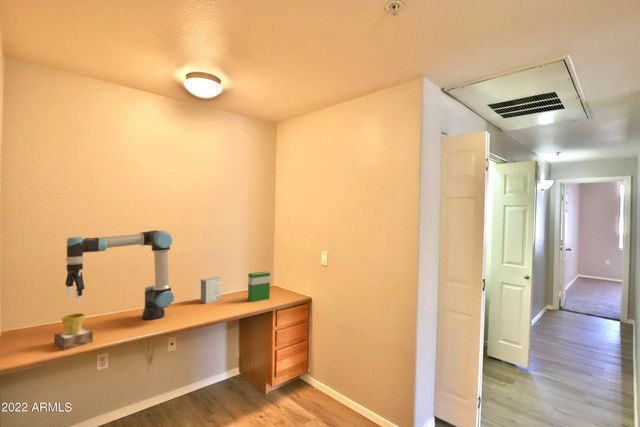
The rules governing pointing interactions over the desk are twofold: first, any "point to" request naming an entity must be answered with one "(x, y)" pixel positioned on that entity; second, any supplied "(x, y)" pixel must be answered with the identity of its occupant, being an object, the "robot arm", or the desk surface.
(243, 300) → the desk surface
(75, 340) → the pedestal block
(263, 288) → the hardback book
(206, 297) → the hard drive box
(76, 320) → the plant pot
